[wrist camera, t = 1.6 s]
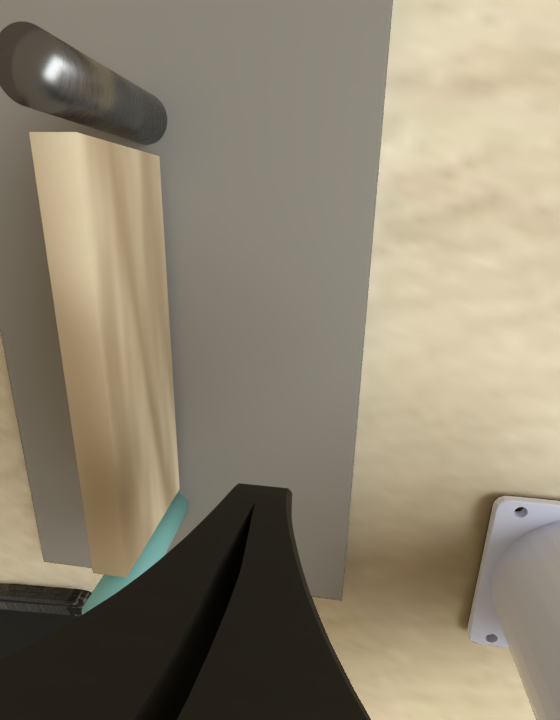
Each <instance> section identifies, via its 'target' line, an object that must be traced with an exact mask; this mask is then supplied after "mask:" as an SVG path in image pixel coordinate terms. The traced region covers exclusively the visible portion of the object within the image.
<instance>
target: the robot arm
mask: <svg viewBox="0 0 560 720" xmlns="http://www.w3.org/2000/svg"><path fill="white" fill-rule="evenodd" d="M518 507H524V508H523V510H521V511H518V512H516V511H515V509H517V508H518ZM467 632H468V635H469V638H470V640H471V641H473V642H474V643H477V644H483V645H491V646H498V647H505V648H510V651H511V654H512V656H513V659H514V662H515V664H516V667H517V670H518V672H519V675H520V678H521V680H522V683H523V686H524V688H525V691H526V694H527V696H528V699H529V702H530V704H531V707H532V710H533V712H534V715H535V718H536V720H560V501H556V500H546V499H536V498H525V497H515V496H502V497H499V498H497V499H496V500H495V501H494V504H493V507H492V512H491V517H490V522H489V526H488V531H487V536H486V541H485V546H484V550H483V555H482V560H481V565H480V570H479V575H478V579H477V584H476V589H475V594H474V599H473V603H472V608H471V613H470V618H469V623H468V627H467ZM489 634H492V635H489ZM0 720H371V719H370V717H369V715H368V714H367V712H366V710H365V708H364V706H363V705H362V703H361V701H360V699H359V698H358V696H357V694H356V692H355V691H354V689H353V687H352V685H351V683H350V681H349V679H348V677H347V675H346V673H345V671H344V669H343V667H342V665H341V663H340V661H339V659H338V657H337V655H336V653H335V651H334V649H333V647H332V645H331V643H330V641H329V638H328V636H327V634H326V631H325V629H324V627H323V624H322V622H321V620H320V617H319V615H318V612H317V610H316V607H315V605H314V602H313V599H312V596H311V594H310V591H309V588H308V585H307V582H306V578H305V575H304V572H303V569H302V565H301V562H300V558H299V554H298V550H297V545H296V541H295V536H294V531H293V525H292V492H291V491H290V490H289V489H288V488H281V487H271V486H261V485H251V484H241V483H238V484H237V485H236V486H235V487H234V488H233V489H232V490H231V491H230V492H229V493H228V494H227V495H226V496H225V497H224V499H223V500H222V501H221V502H220V503H219V504H218V505H217V506H216V507H215V508H214V509H213V510H212V511H211V512H210V513H209V514H208V515H207V516H206V517H205V518H204V519H203V520H202V521H201V522H200V523H199V524H198V525H197V526H196V527H195V528H194V529H193V530H192V531H191V532H190V533H189V534H188V535H187V536H186V537H185V538H184V539H183V540H182V541H180V542H179V543H178V544H177V545H176V546H175V547H174V548H172V549H171V550H170V551H169V552H168V553H167V554H166V555H164V556H163V557H162V558H161V559H160V560H159V561H157V562H156V563H155V564H154V565H153V566H151V567H150V568H149V569H148V570H146V571H145V572H144V573H143V574H141V575H140V576H139V577H137V578H136V579H135V580H133V581H132V582H131V583H129V584H128V585H127V586H125V587H124V588H122V589H121V590H120V591H118V592H117V593H115V594H114V595H112V596H111V597H109V598H108V599H106V600H105V601H103V602H101V603H100V604H98V605H97V606H95V607H94V608H92V609H90V610H89V611H87V612H86V613H84V614H83V615H81V616H79V617H78V618H76V619H75V620H73V621H71V622H70V623H68V624H66V625H65V626H63V627H61V628H59V629H57V630H56V631H54V632H52V633H50V634H49V635H47V636H45V637H43V638H41V639H39V640H37V641H36V642H34V643H32V644H30V645H28V646H26V647H24V648H22V649H20V650H19V651H17V652H15V653H13V654H11V655H9V656H7V657H5V658H3V659H1V660H0Z"/></svg>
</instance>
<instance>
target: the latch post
mask: <svg viewBox="0 0 560 720" xmlns="http://www.w3.org/2000/svg"><path fill="white" fill-rule="evenodd" d="M187 512H188V503H187V500H186V499H185V497H184V496H183V495H182V494H180V493H179V492H178V493H177V494H176V496H175V498H174V499H173V501H172V503H171V504H170V506H169V508H168V509H167V511H166V513H165V514H164V516H163V518H162V519H161V521H160V523H159V524H158V526H157V528H156V529H155V531H154V533H153V535H152V536H151V538H150V540H149V541H148V543H147V545H146V546H145V548H144V550H143V551H142V553H141V555H140V556H139V558H138V560H137V561H136V563H135V565H134V566H133V568H132V570H131V571H130V573H129V575H128V576H127V577H119V576H112V575H104V576H103V577H102V579H101V580H100V582H99V583H98V585H97V586H96V588H95V589H94V591H93V592H92V594H91V595H90V597H89V598H88V600H87V601H86V603H85V604H84V606H83V608H82V615H83V614H84V613H86V612H87V611H89V610H90V609H92V608H94V607H95V606H97V605H98V604H100V603H101V602H103V601H105V600H106V599H108V598H109V597H111V596H112V595H114V594H115V593H117V592H118V591H120V590H121V589H122V588H124V587H125V586H127V585H128V584H129V583H131V582H132V581H133V580H135V579H136V578H137V577H139V576H140V575H141V574H143V573H144V572H145V571H146V570H148V569H149V568H150V567H151V566H153V565H154V564H155V563H156V562H157V561H159V560H160V559H161V558H162V557H163V556H164V555H165V554H166V552H167V550H168V548H169V546H170V544H171V542H172V541H173V539H174V537H175V535H176V533H177V531H178V529H179V527H180V525H181V523H182V522H183V520H184V518H185V516H186V514H187Z"/></svg>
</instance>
